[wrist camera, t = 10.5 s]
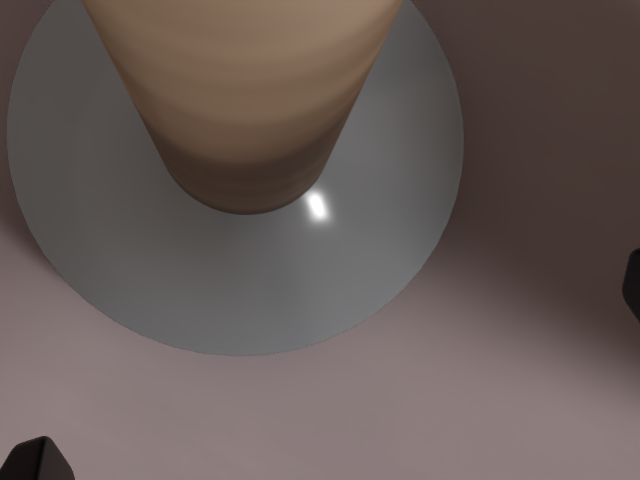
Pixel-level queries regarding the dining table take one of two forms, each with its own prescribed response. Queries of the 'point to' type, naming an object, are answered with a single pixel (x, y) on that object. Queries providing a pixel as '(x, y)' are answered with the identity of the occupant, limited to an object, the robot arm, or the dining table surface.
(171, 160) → the pepper mill
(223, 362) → the dining table surface
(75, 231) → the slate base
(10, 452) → the robot arm
